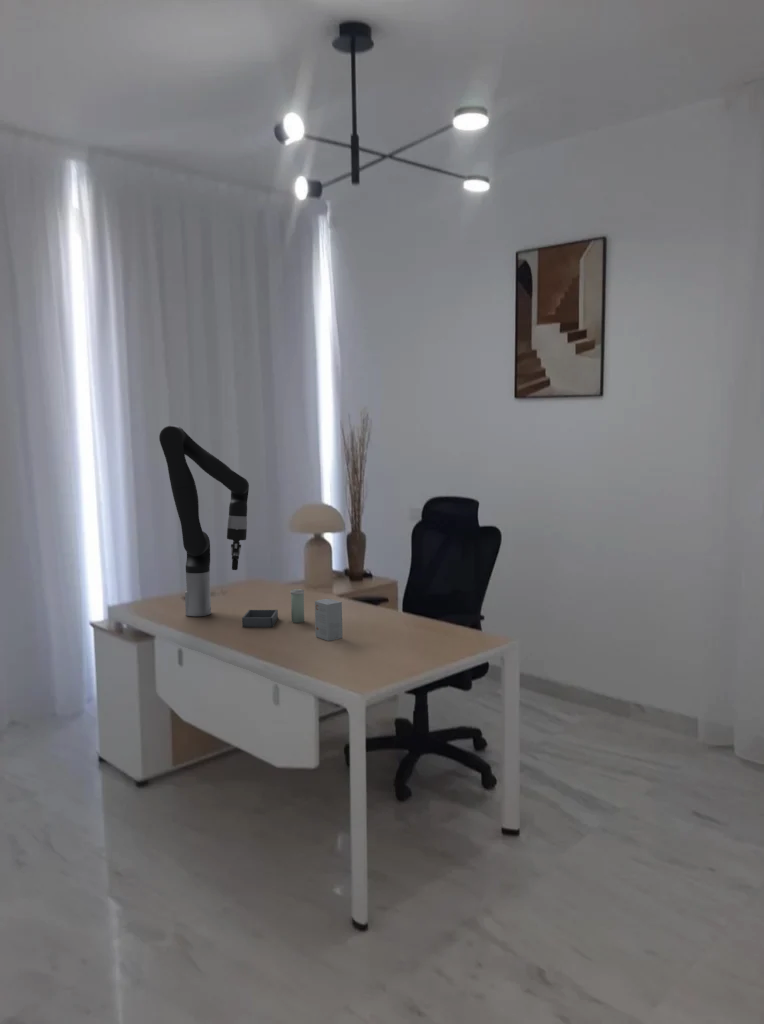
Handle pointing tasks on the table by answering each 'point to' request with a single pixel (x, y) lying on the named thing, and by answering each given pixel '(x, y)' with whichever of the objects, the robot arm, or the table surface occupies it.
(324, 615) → the small box
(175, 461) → the robot arm
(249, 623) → the tray
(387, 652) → the table surface
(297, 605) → the canister
